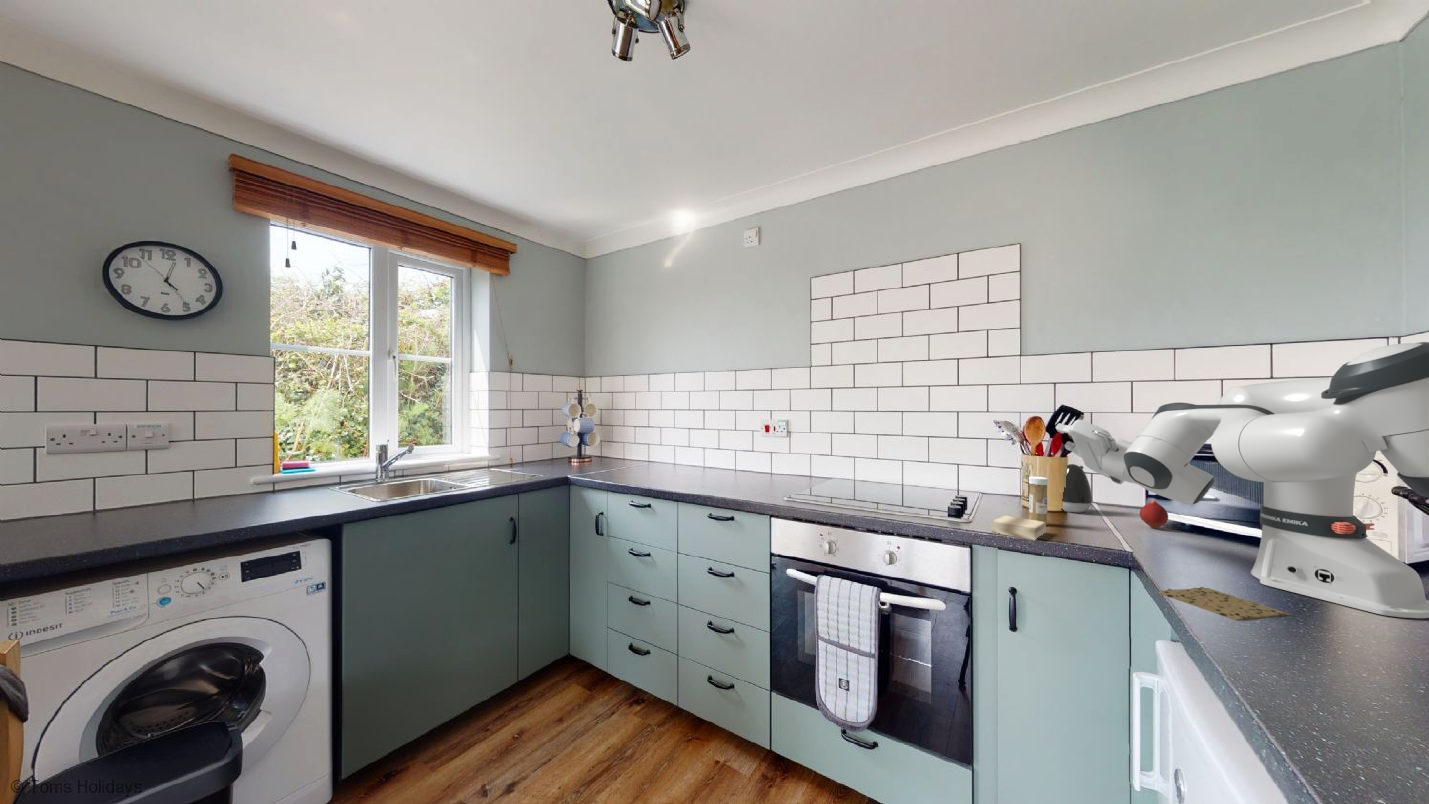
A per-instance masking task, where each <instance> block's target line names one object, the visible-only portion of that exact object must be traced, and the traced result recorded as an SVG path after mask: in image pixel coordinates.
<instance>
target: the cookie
mask: <svg viewBox="0 0 1429 804" xmlns="http://www.w3.org/2000/svg"><path fill="white" fill-rule="evenodd" d="M1157 594H1160V595H1163V596H1165V597H1168V598H1172V599H1174V600H1177V601H1179V602H1183V603H1186V604H1188V605H1191V606H1194V607H1197V608H1199V609H1202V610H1206V611H1209V612H1211V613H1213V614H1216V615H1219V616H1221V617H1224V618H1228V619H1230V620H1234V621H1239V622H1240V621H1241V622H1242V621H1248V620H1260V619H1267V618H1276V617H1277V618H1279V617H1285V616H1291V613H1288V612H1285V611H1283V610H1279V609H1275V608H1272V607H1270V606H1265V605H1263V604H1260V603H1255V602H1252V601H1249V600H1247V599H1244V598H1241V597H1237V596H1235V595H1231V594H1228V593H1225V592H1222V591H1218V590H1215V589H1212V588H1209V587H1204V586H1200V587H1192V588H1183V589H1170V588H1167V589H1165V590H1160V591H1158V592H1157Z"/></svg>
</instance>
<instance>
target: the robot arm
mask: <svg viewBox="0 0 1429 804" xmlns="http://www.w3.org/2000/svg"><path fill="white" fill-rule="evenodd" d="M1055 429H1056V432H1058V433H1060V434H1064V433H1065V434H1068V435H1069V436H1071V439H1072V440H1073V442H1071V441H1066V443H1065V444H1064V448H1065V449H1066V450H1067V451H1070V452H1072V453H1073V454H1074V455H1076V456H1078V457H1080V458H1081V459H1082V461H1083V464H1084V465H1085V466H1086V468H1088V469H1090V470H1091V471H1093V472H1095V473H1097V474H1099V475H1102V476H1103V477H1105V478H1107V479H1110V480H1111V481H1112V482H1113V483H1115V484H1117V485H1122V484H1123V483H1124V482H1126V483H1132V484H1135V485H1139V486H1140V487H1142V488H1144V489H1145V490H1146V491H1148V492H1150V493H1153V494H1155V495H1158V496H1161V497H1164V498H1167V499H1168V500H1172V501H1176V502H1179V503H1181V504H1182V503H1183V504H1186V505H1189V506H1190V505H1191V506H1192V505H1195V504H1198V503H1199V502H1201V500H1203V498H1204V497H1205V496H1206V495H1207V493H1208V492H1209V491H1210V489H1211V488H1212V487H1213V485H1214V483H1215V476H1214V475H1212V474H1211V473H1209V472H1207V471H1205V470H1203V469H1201V468H1199V467H1197V466H1194V465H1192V464H1191V463H1190V462H1191V461H1192V459H1193V458H1194V457H1195V456H1196V454H1197V453H1198V452H1199V451H1200V450H1201V448H1202V447H1203V446H1204V445H1205V444H1206V442H1208V440H1210V438H1211V440H1210V441H1211V443H1210V444H1211V445H1210V446H1211V450H1212V453H1213V455H1214V457H1215V459H1216V461H1218V463H1219V464H1220V465H1221V466H1222V467H1223V468H1224V469H1225V470H1226V471H1228V472H1230V473H1231V474H1233V475H1234V476H1236V477H1238V478H1240V479H1245V480H1248V481H1253V482H1259V483H1263V504H1262V505H1261V506H1260V509H1259V510H1260V512H1259V525H1260V529H1261V536H1260V544H1259V548H1258V552H1257V556H1256V559H1255V561H1254V564H1253V567H1252V569H1251V570H1250V574H1251V575H1252V577H1253V576H1254V577H1255V578H1257V579H1258V580H1259V583H1260V584H1262V585H1265V586H1268V587H1272V588H1276V589H1280V590H1282V591H1283V590H1284V591H1287V592H1291V593H1296V594H1298V595H1303V596H1306V597H1311V598H1315V599H1319V600H1323V601H1325V602H1326V601H1327V602H1330V603H1334V604H1337V605H1341V606H1347V607H1350V608H1354V609H1357V610H1361V611H1365V612H1370V613H1374V614H1378V615H1382V616H1389V617H1396V618H1404V619H1405V618H1407V619H1429V600H1428V599H1426V593H1425V589H1424V585H1423V584H1424V583H1423V582H1422V579H1421V577H1420V574H1419V573H1418V572H1417V571H1416V570H1415V569H1414V568H1412V567H1411V566H1409V565H1407V564H1406V563H1405V562H1403V561H1402V560H1401V559H1398V558H1397V557H1395V556H1394V555H1392V554H1391V553H1389V552H1388V551H1386V550H1384V549H1383V548H1382V547H1380V546H1379V545H1377V544H1376V543H1374V541H1373V542H1372V541H1371V540H1369V538H1368V537H1369V536H1368V534H1367V531H1371V530H1375V527H1374V526H1375V523H1369V522H1368V523H1364V522H1363V521H1361V520H1360V519H1359V518H1358V517H1357V516H1356V515H1354V500H1355V499H1354V498H1355V487H1356V479H1357V474H1358V473H1359V472H1362V471H1364V470H1365V469H1367V468H1368V467H1369V466H1370V465H1371V464H1372V463H1373V461H1374V460H1375V457H1376V455H1377V452H1380V453H1381V455H1383V456H1384V458H1385V459H1386V460H1387V461H1388V463H1390V465H1391V466H1393V468H1394V469H1395V470H1396V471H1397V474H1396V476H1398V478H1399V479H1401V481H1402V482H1403V483H1404V484H1405V485H1406V486H1407V487H1408V488H1409V489H1411V490H1412V491H1414V492H1415V493H1416V494H1418V495H1419V496H1422V497H1426V498H1429V342H1428V341H1427V342H1426V341H1420V342H1416V343H1413V342H1409V343H1408V342H1407V343H1394V344H1389V345H1384V346H1380V347H1376V348H1373V349H1371V350H1368V351H1366V352H1363V353H1361V354H1359V355H1357V356H1356V357H1354V358H1353V359H1351V360H1350V361H1347V362H1345V363H1344V364H1342V365H1341V366H1340V367H1339V369H1337V371H1335V373H1334V374H1333V375H1332V376H1329V377H1327V376H1326V377H1316V378H1304V379H1291V380H1283V381H1272V382H1264V383H1263V382H1262V383H1254V384H1247V385H1240V386H1235V387H1232V388H1230V389H1228V390H1227V391H1225V393H1224V394H1223V395H1222V396H1221V397H1220V400H1219V401H1218V403H1217V404H1193V403H1190V402H1171V403H1165V404H1163V405H1161V406H1159V407H1158V408H1157V410H1156V411H1155V413H1154V414H1153V416H1152V417H1151V419H1150V421H1149V422H1148V423H1147V424H1146V425H1145V427H1144V428H1143V429H1142V430H1141V431H1140V432H1139V434H1138V435H1137V436H1136V438H1135V439H1134V440H1133V442H1130V441H1128V440H1125V439H1120V440H1117V441H1116V440H1115V439H1114V438H1113V437H1112V435H1111V433H1110V432H1108V431H1107V430H1106V429H1104V428H1102V427H1099V426H1098V425H1095V424H1093V423H1090V422H1087V421H1085V420H1083V419H1077V420H1075V421H1074V422H1073V423H1072V424H1069V425H1067V424H1063V423H1060V422H1059V423H1057V425H1055ZM1373 527H1374V528H1373Z"/></svg>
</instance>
